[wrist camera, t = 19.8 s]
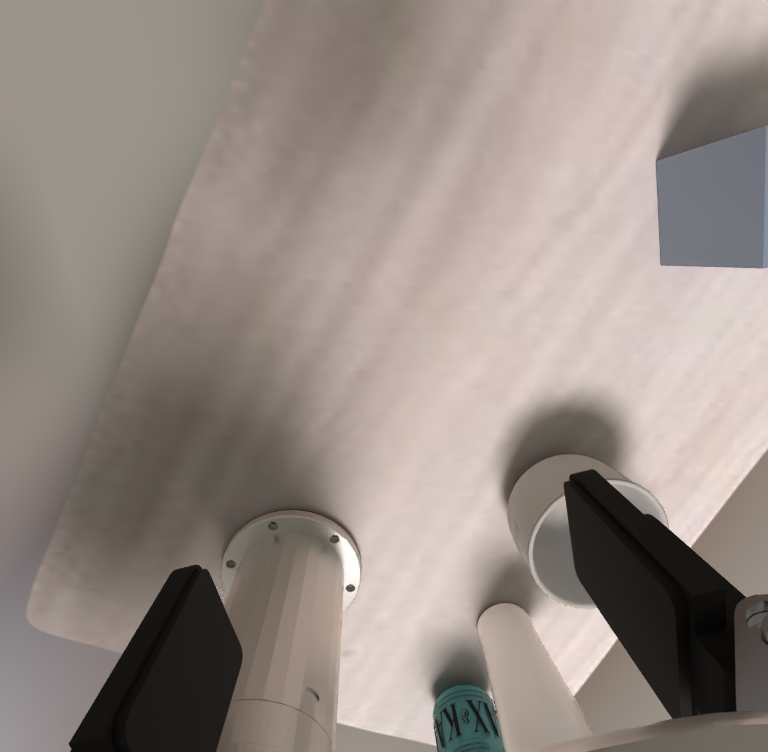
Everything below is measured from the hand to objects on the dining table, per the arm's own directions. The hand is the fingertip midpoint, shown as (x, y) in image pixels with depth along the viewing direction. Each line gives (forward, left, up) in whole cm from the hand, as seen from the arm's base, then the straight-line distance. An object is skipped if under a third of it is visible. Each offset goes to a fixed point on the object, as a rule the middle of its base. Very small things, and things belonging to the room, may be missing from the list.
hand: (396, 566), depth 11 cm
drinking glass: (-30, -6, -24) cm, 39 cm away
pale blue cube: (+5, -28, -24) cm, 37 cm away
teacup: (-18, -14, -25) cm, 34 cm away
